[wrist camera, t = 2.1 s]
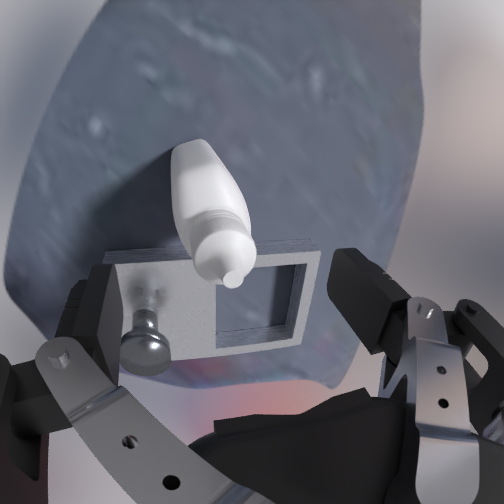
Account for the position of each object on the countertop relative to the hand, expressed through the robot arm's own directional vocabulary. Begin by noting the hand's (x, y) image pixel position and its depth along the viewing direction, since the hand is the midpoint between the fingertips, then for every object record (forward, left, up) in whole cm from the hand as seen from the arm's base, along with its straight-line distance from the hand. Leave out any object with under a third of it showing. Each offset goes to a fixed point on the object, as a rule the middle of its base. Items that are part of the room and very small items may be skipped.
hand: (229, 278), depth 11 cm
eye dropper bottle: (0, 0, -12) cm, 12 cm away
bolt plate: (+10, +1, -11) cm, 15 cm away
